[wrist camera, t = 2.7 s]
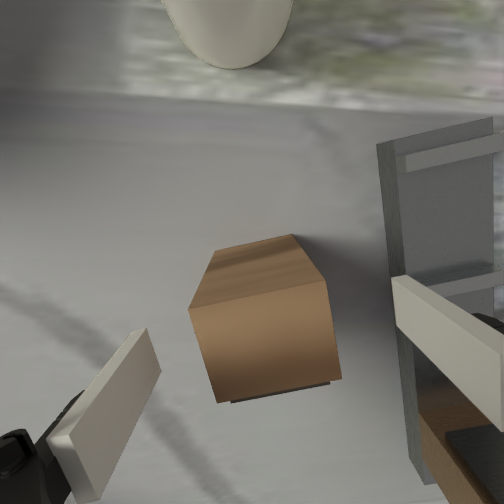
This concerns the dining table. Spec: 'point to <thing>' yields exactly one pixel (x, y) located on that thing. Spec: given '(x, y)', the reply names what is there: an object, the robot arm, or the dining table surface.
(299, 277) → the brown wooden block
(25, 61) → the dining table surface
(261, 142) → the dining table surface
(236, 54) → the pill bottle
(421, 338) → the robot arm
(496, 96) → the dining table surface
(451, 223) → the rail
